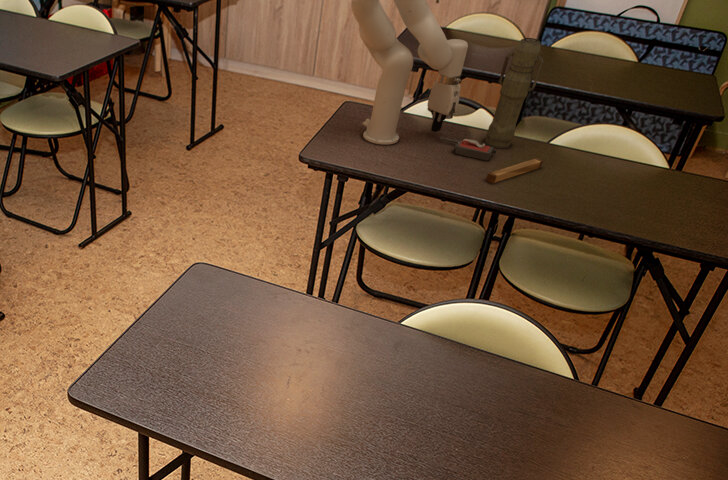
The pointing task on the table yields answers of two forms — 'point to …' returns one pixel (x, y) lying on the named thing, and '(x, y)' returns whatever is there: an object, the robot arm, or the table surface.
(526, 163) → the bar
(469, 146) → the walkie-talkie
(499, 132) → the thermos
